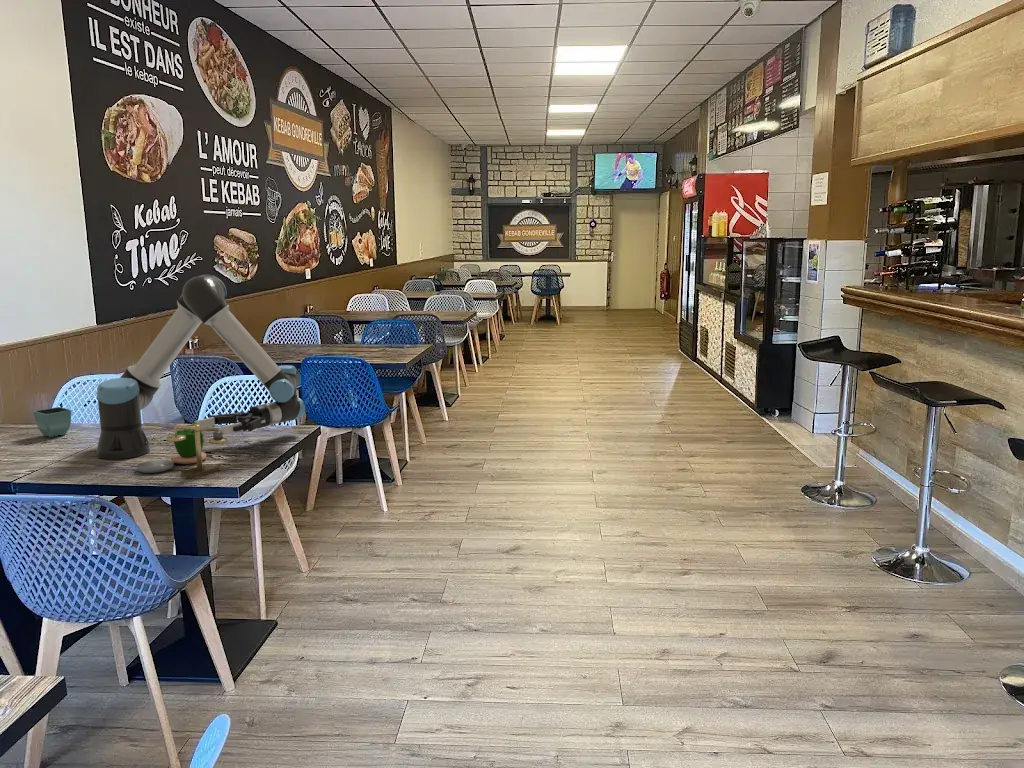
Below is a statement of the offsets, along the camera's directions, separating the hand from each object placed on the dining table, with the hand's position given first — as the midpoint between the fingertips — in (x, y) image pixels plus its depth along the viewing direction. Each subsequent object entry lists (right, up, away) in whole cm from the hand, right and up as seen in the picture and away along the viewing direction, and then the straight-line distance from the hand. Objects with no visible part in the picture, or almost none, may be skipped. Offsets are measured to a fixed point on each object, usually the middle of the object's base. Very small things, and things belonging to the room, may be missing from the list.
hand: (209, 428), depth 235 cm
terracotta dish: (-5, -10, -4) cm, 12 cm away
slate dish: (-10, -12, -14) cm, 21 cm away
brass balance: (+4, -12, -17) cm, 21 cm away
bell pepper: (-4, -9, -5) cm, 11 cm away
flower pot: (-64, -4, +26) cm, 69 cm away
